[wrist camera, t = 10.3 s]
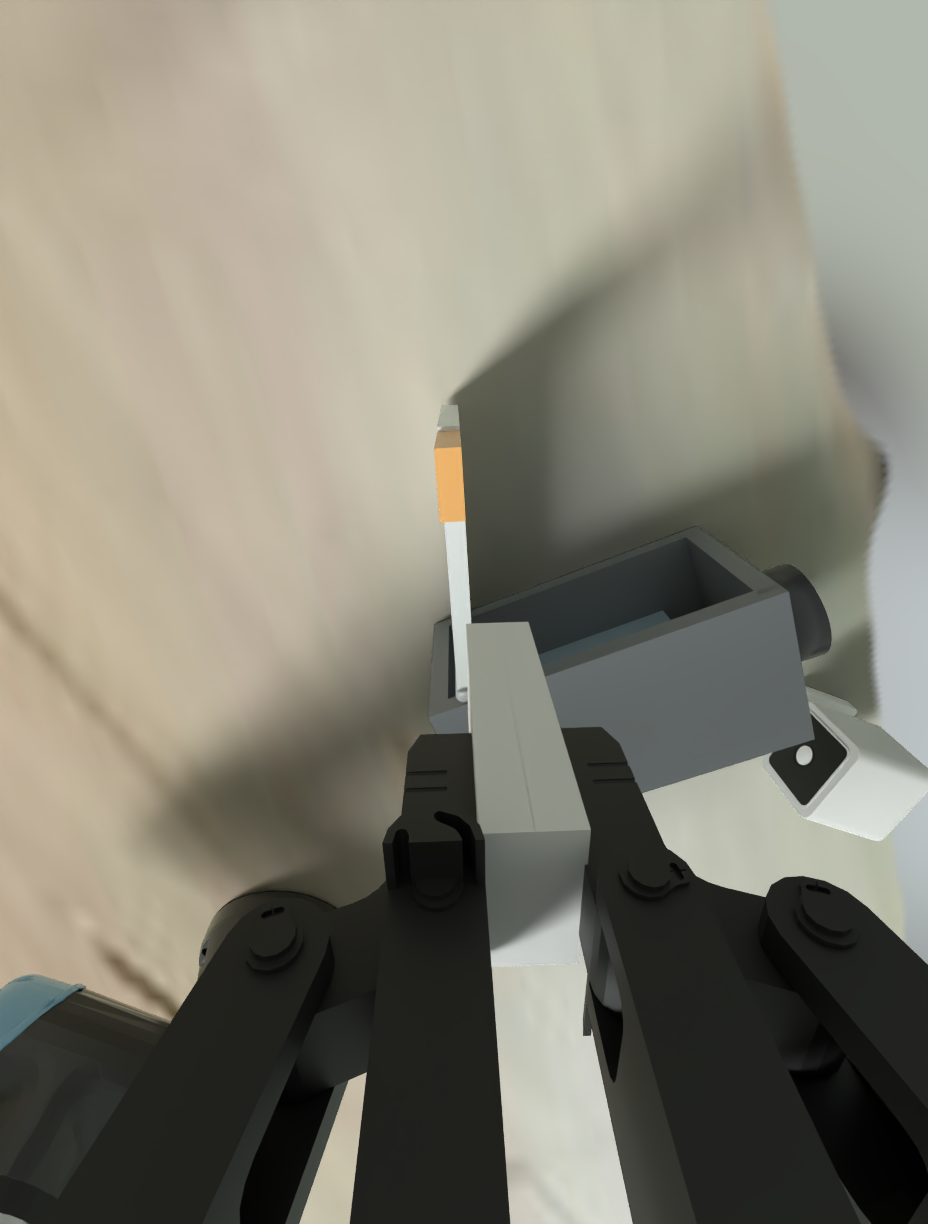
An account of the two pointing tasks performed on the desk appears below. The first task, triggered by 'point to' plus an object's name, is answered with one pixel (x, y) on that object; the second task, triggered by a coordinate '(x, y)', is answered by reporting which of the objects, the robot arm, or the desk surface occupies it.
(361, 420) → the desk surface
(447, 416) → the hinged cabinet door
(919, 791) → the security camera
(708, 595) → the camera body
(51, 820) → the desk surface
